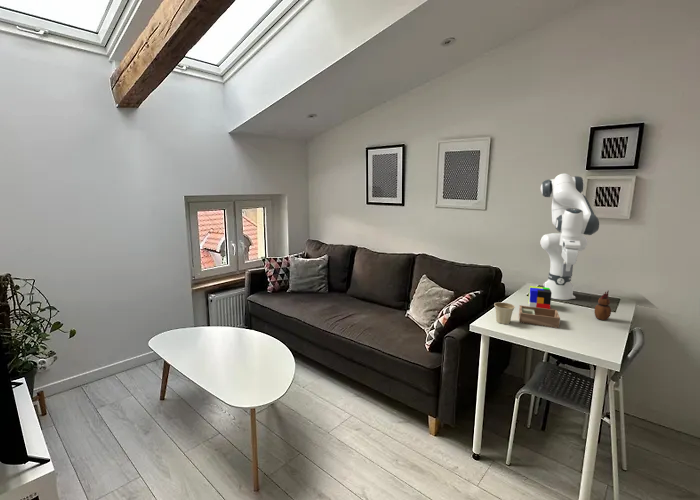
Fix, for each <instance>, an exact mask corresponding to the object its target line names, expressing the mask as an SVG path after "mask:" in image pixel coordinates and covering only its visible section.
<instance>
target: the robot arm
mask: <svg viewBox="0 0 700 500" xmlns="http://www.w3.org/2000/svg"><path fill="white" fill-rule="evenodd" d="M584 189H585V182H584V179H583V177H581V176H579V175H578V176H577V175H575V176H571V175H570V174H569V173H560V174H558V175H557V176H555V178H551V179H545V180H543V181H542V183H541V185H540V193H541V195H542V196H543V197H544V198H552V199H551V200H552V201H551V223H552V225H553V226H554V228H555V230H557V232H552V233H546V234H543V235H542V236H541V239H540V241H539V243H540V246H541V249H543V250H544V251H545V252H546V253H547V254H548V257H549V263H550V265H549V267H550V268H549V272H548V274H547V275H548V276H547V277H548V278H547V280H546V281H545V282H543V287H545V288H550V290H551V292H552V294H551V299H553V300H554V299H555V300H563V301H565V300H566V301H567V300H573V299H574V300H575V299H576V298H577V297H576V296H575V295H574V294H573V293H574V284H573V283H572V282H571V281H572V276H562V274H561V273H562V262H564V261H565V262H566V269H565V270H566V271H570V268H571V265H573V266H575V265H576V264H577V261H578V256H579V252H582V251H584V250H586V248H587V246H588V243H589V241H588V239H587V237H586V236H592V235H594V234H595V233H596V232H598V231H599V228H600V221H599V218H598V216H597V215H596V214H595V212H594V210H593V208H592V207H591V204H590V202H589V200H588V198H587V197H586V195H584V194H583V192H584Z"/></svg>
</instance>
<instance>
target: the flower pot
mask: <svg viewBox="0 0 700 500" xmlns="http://www.w3.org/2000/svg"><path fill="white" fill-rule="evenodd" d="M493 305H494V309H495V318H496V323H499V324H502V325H509V324H510V323H511V320H512V315H513V311H514V309H515V308H516V306H515V305H514V304H511V303H507V302H501V301H500V302H499V301H498V302H494V304H493Z"/></svg>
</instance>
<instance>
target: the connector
mask: <svg viewBox="0 0 700 500" xmlns="http://www.w3.org/2000/svg"><path fill="white" fill-rule="evenodd" d="M565 269H566V262H565V261H564V262H562V273H561V274H562V276H571V277H573V270H574V265H571V268H570V271H566V270H565Z"/></svg>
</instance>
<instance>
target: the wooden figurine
mask: <svg viewBox="0 0 700 500" xmlns="http://www.w3.org/2000/svg"><path fill="white" fill-rule="evenodd" d="M597 302H598V304H596V305H595V307H594V309H593V310H594V311H593V312H594V313H593V314H594V316H595V318H596V319H597V320H601V321H607V320H608V319H610V317H611V314H612V308H611V306H610V304H611V301H610V299H609V290H607V291H605V292H604V293H603V294H602V295H601V297H599V298H598V300H597Z"/></svg>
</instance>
